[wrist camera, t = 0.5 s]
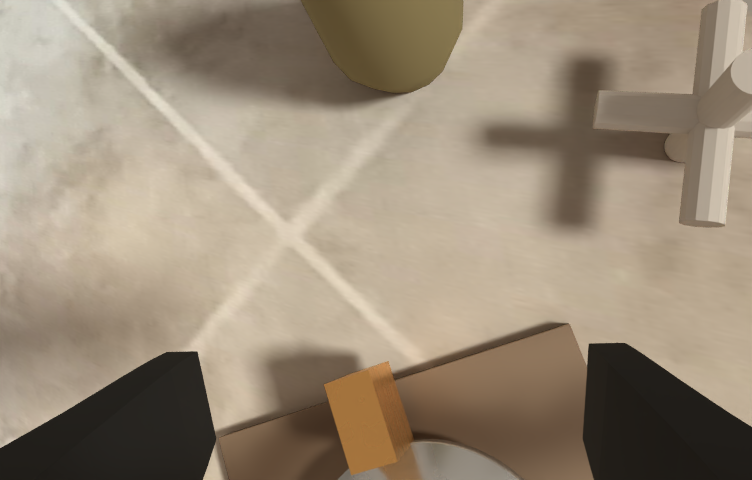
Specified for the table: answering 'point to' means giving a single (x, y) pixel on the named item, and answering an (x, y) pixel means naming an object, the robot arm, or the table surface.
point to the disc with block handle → (397, 436)
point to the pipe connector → (697, 113)
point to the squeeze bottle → (388, 39)
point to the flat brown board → (450, 416)
